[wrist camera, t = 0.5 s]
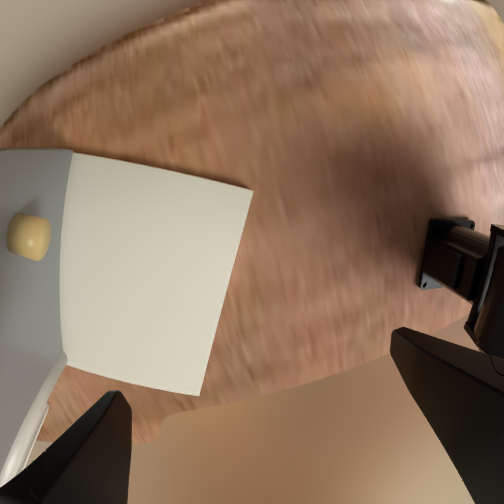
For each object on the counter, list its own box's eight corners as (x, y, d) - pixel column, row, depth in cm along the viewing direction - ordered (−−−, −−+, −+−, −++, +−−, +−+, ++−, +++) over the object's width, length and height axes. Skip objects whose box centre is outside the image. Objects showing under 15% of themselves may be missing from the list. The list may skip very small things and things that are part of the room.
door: (94, 153, 15) (-105, 171, 2) (81, 371, 19) (28, 514, 6) (53, 147, 14) (-133, 164, 1) (49, 361, 19) (-16, 489, 6)
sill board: (251, 189, 19) (253, 191, 18) (199, 388, 23) (199, 396, 22) (56, 149, 16) (49, 149, 15) (49, 351, 20) (45, 357, 19)
